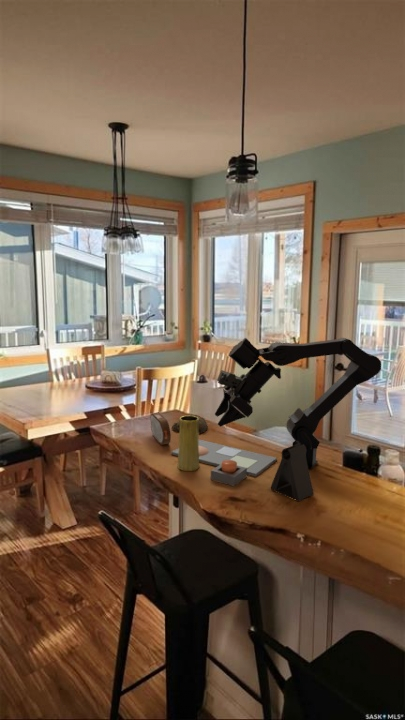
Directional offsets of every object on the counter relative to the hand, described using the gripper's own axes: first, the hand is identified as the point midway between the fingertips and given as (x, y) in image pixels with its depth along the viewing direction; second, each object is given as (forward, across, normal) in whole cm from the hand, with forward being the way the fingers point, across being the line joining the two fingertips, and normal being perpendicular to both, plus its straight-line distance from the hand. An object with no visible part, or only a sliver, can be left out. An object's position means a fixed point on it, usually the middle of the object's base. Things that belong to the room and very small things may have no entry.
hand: (217, 420), depth 133 cm
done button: (+7, +9, +9) cm, 15 cm away
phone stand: (-1, +18, +22) cm, 28 cm away
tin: (+21, -20, -4) cm, 30 cm away
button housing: (+8, +9, +10) cm, 16 cm away
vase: (+15, +2, +3) cm, 16 cm away
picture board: (+8, -5, +11) cm, 14 cm away
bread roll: (+14, -34, +4) cm, 37 cm away
